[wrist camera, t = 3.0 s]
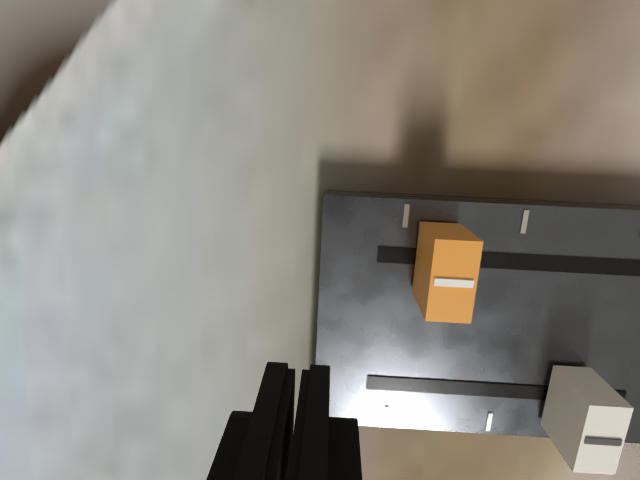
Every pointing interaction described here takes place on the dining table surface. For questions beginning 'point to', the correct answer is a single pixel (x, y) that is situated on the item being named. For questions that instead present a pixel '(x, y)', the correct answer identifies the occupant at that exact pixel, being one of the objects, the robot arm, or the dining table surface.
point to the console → (476, 310)
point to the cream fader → (585, 419)
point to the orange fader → (446, 272)
